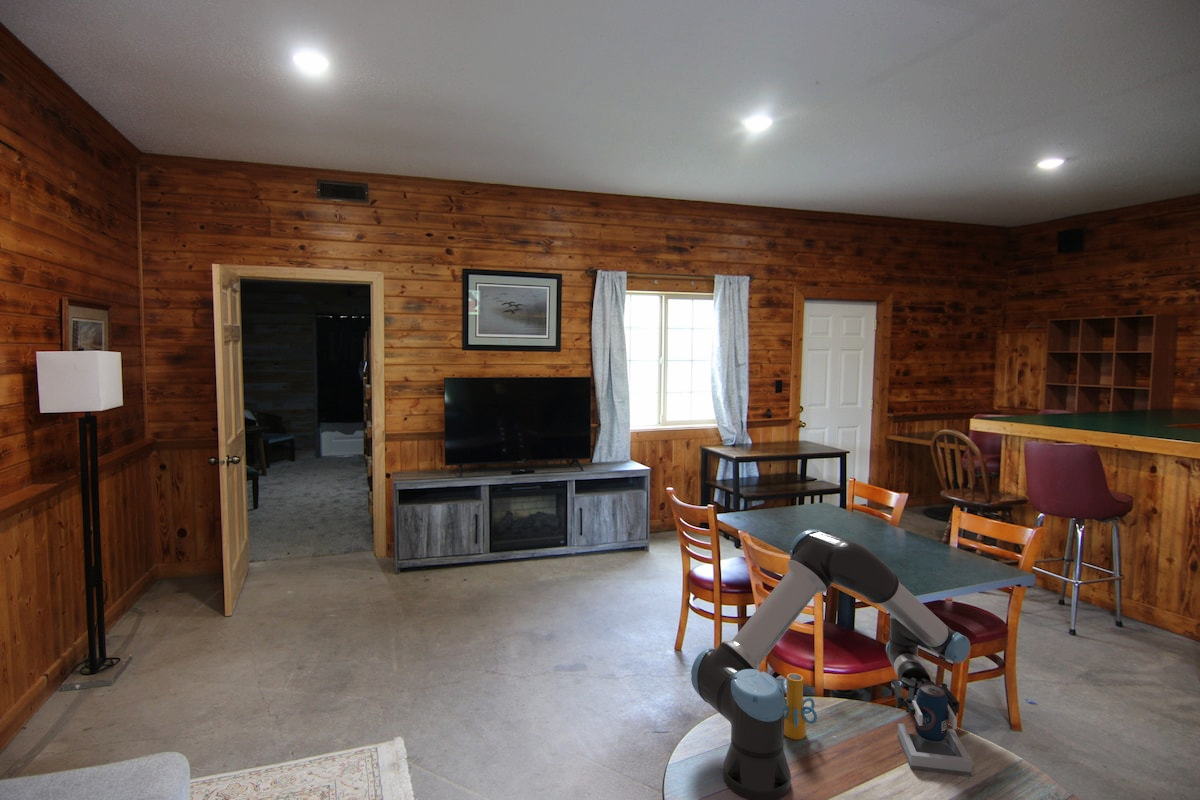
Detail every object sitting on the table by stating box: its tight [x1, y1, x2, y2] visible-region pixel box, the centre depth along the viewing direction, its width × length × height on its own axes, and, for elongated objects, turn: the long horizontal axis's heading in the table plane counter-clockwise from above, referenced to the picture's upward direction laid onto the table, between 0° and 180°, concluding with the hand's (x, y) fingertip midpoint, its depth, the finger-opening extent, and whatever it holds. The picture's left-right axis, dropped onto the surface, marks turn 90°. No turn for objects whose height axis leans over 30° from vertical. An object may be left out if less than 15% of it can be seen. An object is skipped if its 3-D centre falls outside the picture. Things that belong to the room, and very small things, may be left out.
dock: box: [897, 723, 973, 777], centre depth 158 cm, size 13×13×4 cm
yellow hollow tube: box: [784, 672, 818, 740], centre depth 167 cm, size 12×10×15 cm
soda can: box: [914, 683, 948, 742], centre depth 161 cm, size 7×7×12 cm
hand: (937, 722), depth 156 cm, fingers closed on soda can, 7 cm apart
